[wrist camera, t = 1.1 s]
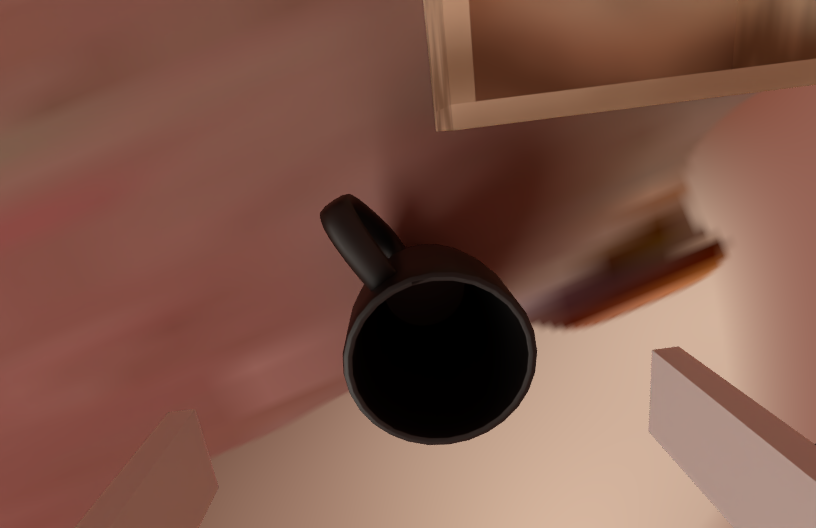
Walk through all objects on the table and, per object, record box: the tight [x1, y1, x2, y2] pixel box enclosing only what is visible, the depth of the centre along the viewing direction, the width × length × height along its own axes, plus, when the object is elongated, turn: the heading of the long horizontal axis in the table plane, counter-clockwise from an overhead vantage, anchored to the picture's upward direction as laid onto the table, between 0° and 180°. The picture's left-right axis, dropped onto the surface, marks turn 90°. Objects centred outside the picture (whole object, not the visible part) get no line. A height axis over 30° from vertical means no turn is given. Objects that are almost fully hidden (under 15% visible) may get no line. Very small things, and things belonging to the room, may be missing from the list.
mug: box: [320, 194, 537, 445], centre depth 22 cm, size 8×12×10 cm
